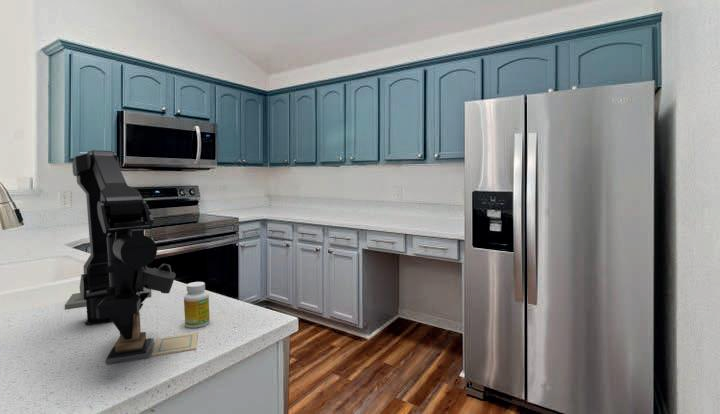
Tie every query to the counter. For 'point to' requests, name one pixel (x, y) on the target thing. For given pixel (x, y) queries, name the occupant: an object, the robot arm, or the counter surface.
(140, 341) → the stamp
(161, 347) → the card
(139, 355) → the ink pad
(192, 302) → the supplement bottle
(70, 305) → the soap mold
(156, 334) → the counter surface
